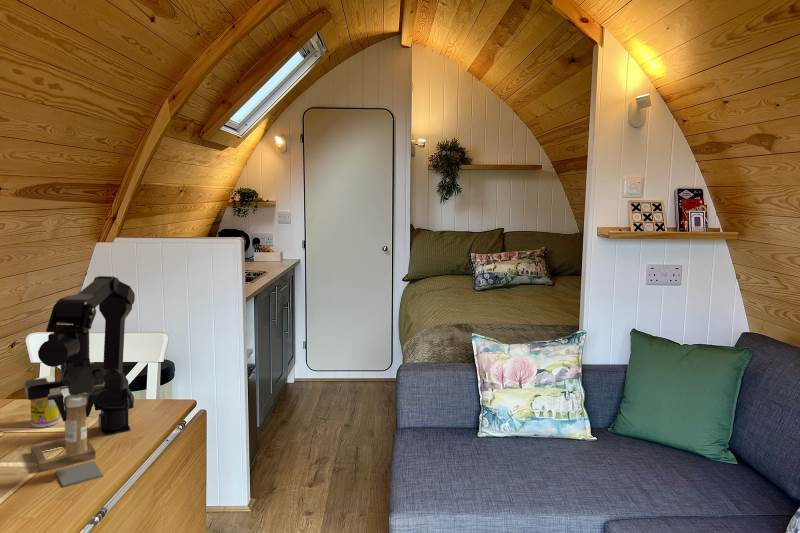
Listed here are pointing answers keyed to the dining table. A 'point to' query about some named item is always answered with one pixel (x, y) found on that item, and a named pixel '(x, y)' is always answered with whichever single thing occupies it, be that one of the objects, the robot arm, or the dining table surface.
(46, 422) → the supplement bottle
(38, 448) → the walnut collar stand
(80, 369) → the robot arm
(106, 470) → the dining table surface
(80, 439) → the sprinkles bottle
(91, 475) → the grey flat square slab
